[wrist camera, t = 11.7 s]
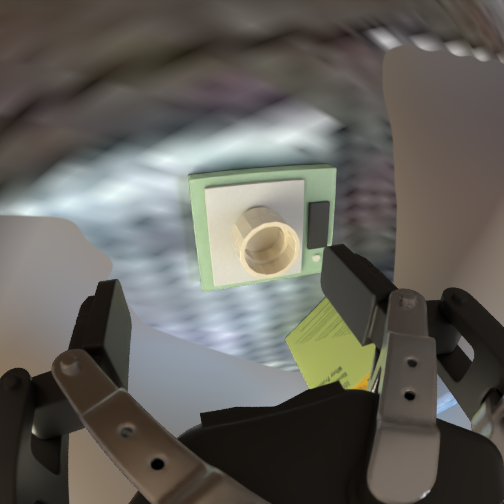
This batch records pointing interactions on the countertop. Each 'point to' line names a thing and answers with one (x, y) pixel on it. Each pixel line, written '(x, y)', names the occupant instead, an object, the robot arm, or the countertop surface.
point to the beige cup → (265, 243)
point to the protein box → (330, 350)
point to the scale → (255, 196)
